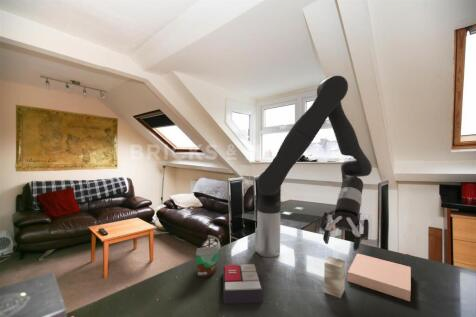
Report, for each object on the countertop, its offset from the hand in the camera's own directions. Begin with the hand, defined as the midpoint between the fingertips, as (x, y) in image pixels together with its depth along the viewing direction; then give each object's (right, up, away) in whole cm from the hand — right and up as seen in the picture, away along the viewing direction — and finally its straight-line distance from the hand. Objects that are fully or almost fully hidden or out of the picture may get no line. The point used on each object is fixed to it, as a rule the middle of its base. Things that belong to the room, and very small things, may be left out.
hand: (340, 246), depth 72 cm
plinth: (+14, -12, +3) cm, 18 cm away
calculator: (-31, -12, -2) cm, 33 cm away
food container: (-41, -11, +7) cm, 44 cm away
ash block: (-3, -12, -4) cm, 13 cm away
